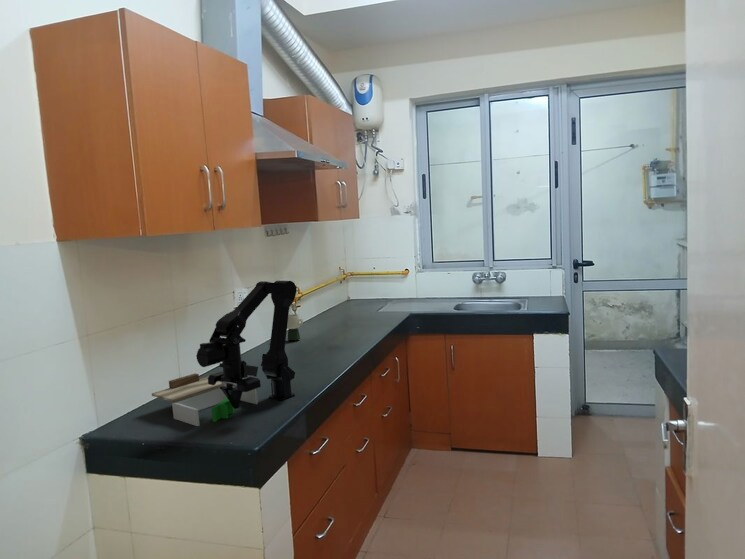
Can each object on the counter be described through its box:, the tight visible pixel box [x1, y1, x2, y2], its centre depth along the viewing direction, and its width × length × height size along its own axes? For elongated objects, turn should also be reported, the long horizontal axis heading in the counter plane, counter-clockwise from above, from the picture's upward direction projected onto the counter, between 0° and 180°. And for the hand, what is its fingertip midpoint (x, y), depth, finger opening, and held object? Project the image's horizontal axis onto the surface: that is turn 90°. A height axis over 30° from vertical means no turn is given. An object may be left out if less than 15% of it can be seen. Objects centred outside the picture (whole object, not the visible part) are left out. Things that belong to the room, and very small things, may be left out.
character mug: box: [287, 313, 304, 341], centre depth 268 cm, size 11×7×13 cm, turn 74°
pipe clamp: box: [211, 398, 235, 423], centre depth 165 cm, size 10×4×4 cm, turn 169°
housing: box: [171, 387, 259, 427], centre depth 170 cm, size 13×23×5 cm, turn 141°
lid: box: [151, 373, 222, 403], centre depth 177 cm, size 13×23×3 cm, turn 141°
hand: (236, 408), depth 165 cm, fingers closed
